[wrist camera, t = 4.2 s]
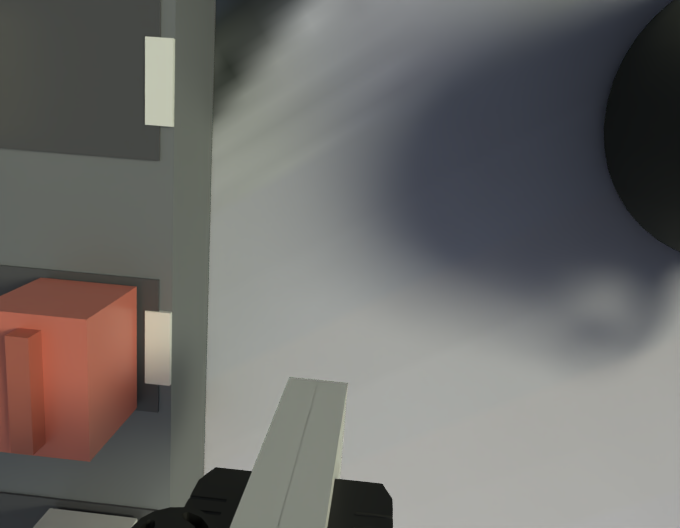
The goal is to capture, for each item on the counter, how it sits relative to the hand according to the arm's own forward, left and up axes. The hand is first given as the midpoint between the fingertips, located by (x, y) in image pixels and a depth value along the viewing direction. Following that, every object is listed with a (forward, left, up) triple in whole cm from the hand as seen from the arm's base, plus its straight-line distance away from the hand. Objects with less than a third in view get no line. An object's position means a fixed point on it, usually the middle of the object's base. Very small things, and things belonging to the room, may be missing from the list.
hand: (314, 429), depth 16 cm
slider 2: (0, -7, -3) cm, 8 cm away
